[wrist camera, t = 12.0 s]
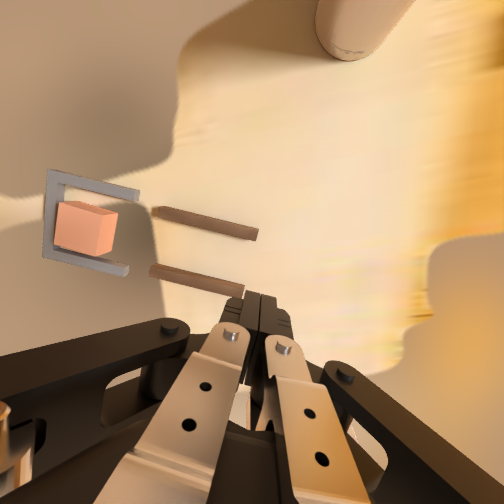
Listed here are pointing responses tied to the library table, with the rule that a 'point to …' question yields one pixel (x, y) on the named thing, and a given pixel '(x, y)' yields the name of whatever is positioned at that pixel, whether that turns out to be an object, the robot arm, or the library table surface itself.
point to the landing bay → (53, 197)
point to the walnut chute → (194, 278)
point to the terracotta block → (85, 228)
